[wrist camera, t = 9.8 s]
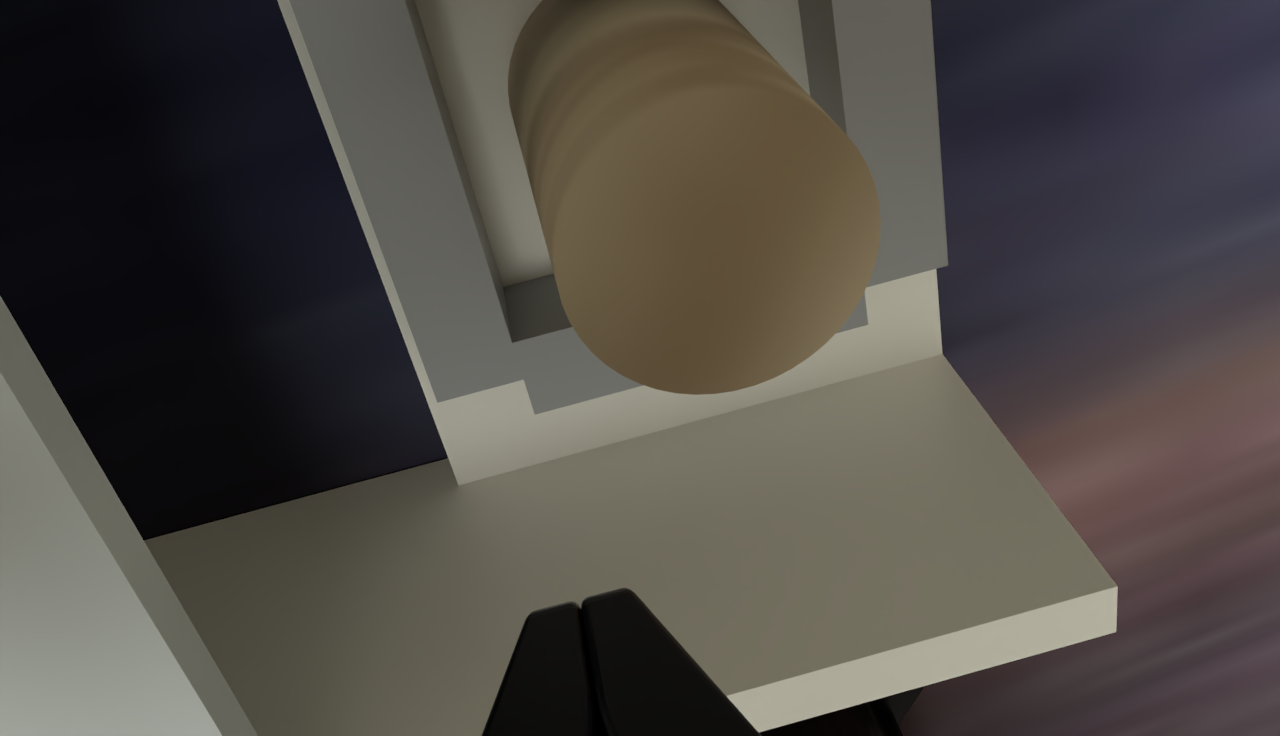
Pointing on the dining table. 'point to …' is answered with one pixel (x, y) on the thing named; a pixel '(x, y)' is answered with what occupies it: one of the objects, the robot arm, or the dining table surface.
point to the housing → (632, 429)
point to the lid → (86, 589)
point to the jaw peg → (688, 192)
